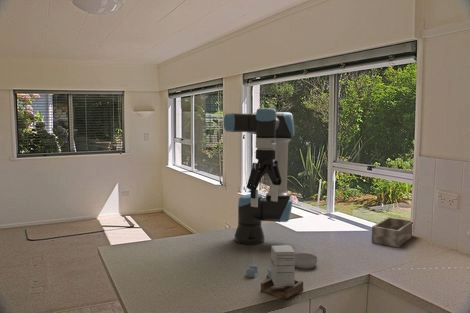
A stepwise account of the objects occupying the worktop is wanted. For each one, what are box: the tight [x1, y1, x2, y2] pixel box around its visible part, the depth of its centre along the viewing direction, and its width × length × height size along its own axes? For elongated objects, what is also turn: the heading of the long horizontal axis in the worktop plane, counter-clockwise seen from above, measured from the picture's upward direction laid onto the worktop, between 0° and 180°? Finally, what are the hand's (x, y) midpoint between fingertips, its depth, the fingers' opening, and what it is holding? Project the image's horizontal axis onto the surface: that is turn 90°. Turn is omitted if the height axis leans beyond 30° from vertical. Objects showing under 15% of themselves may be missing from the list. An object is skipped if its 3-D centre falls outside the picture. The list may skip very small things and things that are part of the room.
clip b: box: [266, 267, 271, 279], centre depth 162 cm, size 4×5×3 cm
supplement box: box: [270, 244, 296, 286], centre depth 149 cm, size 7×7×13 cm
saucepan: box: [295, 252, 318, 270], centre depth 177 cm, size 11×18×4 cm, turn 71°
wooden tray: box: [260, 278, 304, 301], centre depth 149 cm, size 11×11×3 cm
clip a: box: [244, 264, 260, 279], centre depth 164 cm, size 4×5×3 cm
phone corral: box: [371, 216, 413, 248], centre depth 214 cm, size 13×25×8 cm, turn 141°
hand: (264, 203), depth 160 cm, fingers open, 13 cm apart
